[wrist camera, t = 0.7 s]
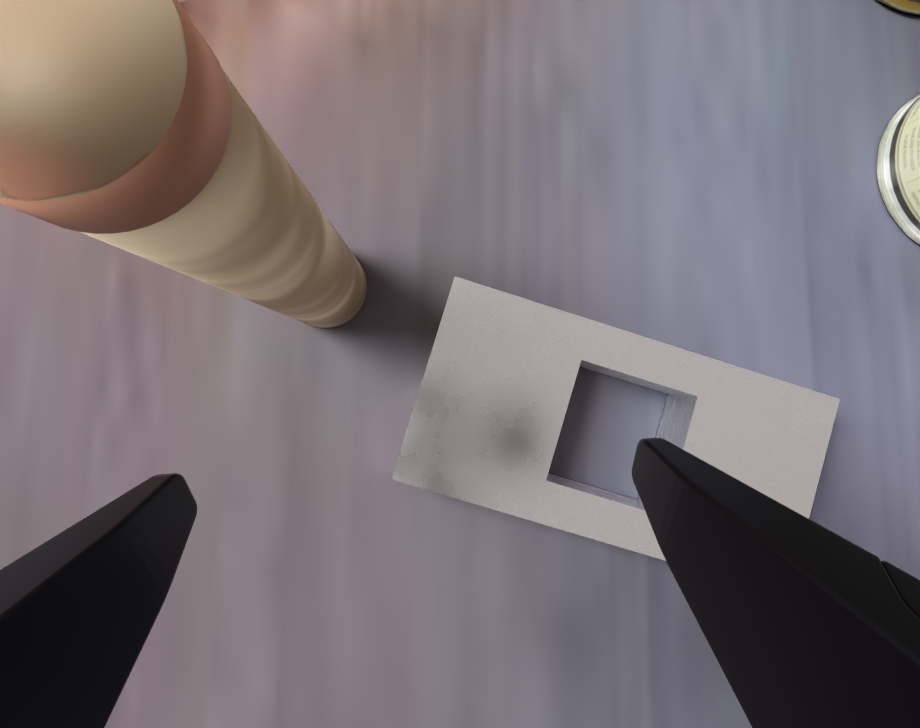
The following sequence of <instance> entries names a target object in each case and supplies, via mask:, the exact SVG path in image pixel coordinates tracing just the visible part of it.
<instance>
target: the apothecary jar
mask: <svg viewBox="0 0 920 728" xmlns="http://www.w3.org/2000/svg"><path fill="white" fill-rule="evenodd" d="M878 1H880V2H881V3H883V4H885V5H887V6H889V7H891V8H893V9H896V10H899V11H902V12H905V13H909V14H913V15H920V0H878Z"/></svg>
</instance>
